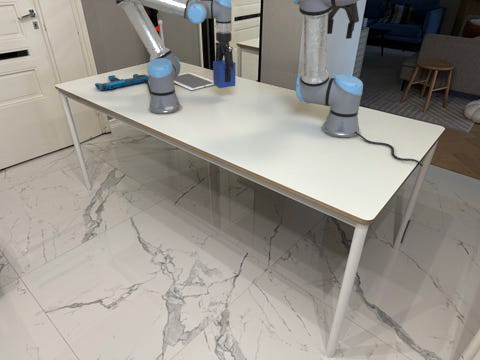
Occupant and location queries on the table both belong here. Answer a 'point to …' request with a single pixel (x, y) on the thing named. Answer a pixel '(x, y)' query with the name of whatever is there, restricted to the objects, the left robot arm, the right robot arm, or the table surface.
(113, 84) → the submachine gun
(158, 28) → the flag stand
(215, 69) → the block
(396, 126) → the table surface
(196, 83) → the tablet
